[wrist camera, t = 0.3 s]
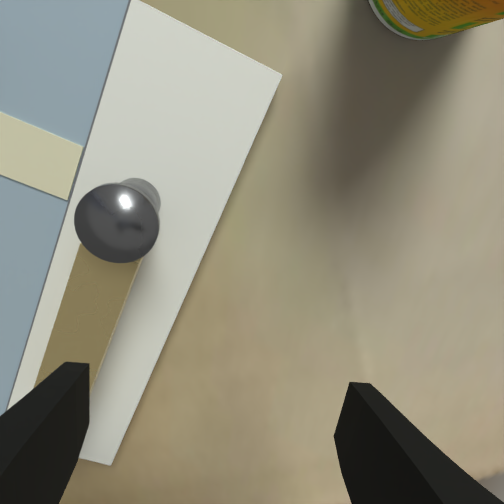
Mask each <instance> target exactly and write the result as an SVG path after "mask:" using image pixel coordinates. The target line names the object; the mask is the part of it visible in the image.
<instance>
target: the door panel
mask: <svg viewBox="0 0 504 504" xmlns="http://www.w3.org/2000/svg"><path fill="white" fill-rule="evenodd" d="M281 77H282V74H280V73H278V72H276V71H274V70H272V69H270V68H269V67H267V66H265V65H263V64H261V63H259V62H257V61H255V60H253V59H251V58H249V57H247V56H245V55H244V54H242V53H240V52H238V51H236V50H234V49H232V48H230V47H228V46H226V45H224V44H222V43H220V42H218V41H217V40H215V39H213V38H211V37H209V36H207V35H205V34H203V33H201V32H199V31H197V30H195V29H193V28H192V27H190V26H188V25H186V24H184V23H182V22H180V21H178V20H176V19H174V18H172V17H170V16H168V15H166V14H165V13H163V12H161V11H159V10H157V9H155V8H153V7H151V6H149V5H147V4H145V3H143V2H141V1H139V0H0V416H1V415H2V414H3V413H4V412H6V411H7V410H8V409H9V408H11V407H12V406H13V405H14V404H15V403H17V402H18V401H19V400H20V399H22V398H23V397H24V396H25V395H26V394H28V393H29V392H30V391H31V390H32V389H33V388H34V385H35V382H36V378H37V375H38V372H39V369H40V366H41V363H42V360H43V357H44V354H45V351H46V347H47V344H48V341H49V338H50V335H51V332H52V329H53V326H54V323H55V320H56V317H57V313H58V310H59V307H60V304H61V301H62V298H63V295H64V292H65V289H66V286H67V282H68V279H69V276H70V273H71V270H72V267H73V264H74V261H75V258H76V255H77V252H78V248H79V245H80V243H81V242H80V240H79V238H78V236H77V234H76V231H75V226H74V214H75V210H76V207H77V205H78V203H79V201H80V200H81V199H82V197H83V196H84V195H85V194H87V193H88V192H89V191H91V190H92V189H94V188H95V187H97V186H99V185H102V184H106V183H115V182H116V183H120V182H122V181H124V180H126V179H129V178H140V179H143V180H146V181H148V182H149V183H151V184H152V185H153V186H154V187H155V188H156V190H157V191H158V193H159V196H160V200H161V206H160V210H159V212H158V214H159V218H160V231H159V235H158V238H157V240H156V242H155V244H154V246H153V247H152V249H151V250H150V251H149V252H148V253H147V254H146V255H145V256H144V257H143V260H142V263H141V265H140V268H139V270H138V273H137V276H136V278H135V281H134V283H133V286H132V288H131V291H130V294H129V296H128V299H127V301H126V304H125V307H124V309H123V312H122V314H121V317H120V320H119V322H118V325H117V327H116V330H115V333H114V335H113V338H112V340H111V343H110V346H109V348H108V351H107V353H106V356H105V358H104V361H103V364H102V366H101V369H100V371H99V374H98V377H97V379H96V382H95V384H94V387H93V390H92V392H91V395H90V423H89V426H88V430H87V433H86V436H85V439H84V442H83V446H82V449H81V452H80V455H79V458H81V459H86V460H90V461H94V462H98V463H102V464H106V465H110V466H111V464H112V462H113V459H114V457H115V455H116V453H117V450H118V448H119V446H120V443H121V441H122V439H123V437H124V434H125V432H126V430H127V428H128V425H129V423H130V421H131V418H132V416H133V414H134V412H135V409H136V407H137V405H138V403H139V400H140V398H141V396H142V393H143V391H144V389H145V387H146V384H147V382H148V380H149V378H150V375H151V373H152V371H153V368H154V366H155V364H156V362H157V359H158V357H159V355H160V353H161V350H162V348H163V346H164V343H165V341H166V339H167V337H168V334H169V332H170V330H171V328H172V325H173V323H174V321H175V318H176V316H177V314H178V312H179V309H180V307H181V305H182V303H183V300H184V298H185V296H186V293H187V291H188V289H189V287H190V284H191V282H192V280H193V277H194V275H195V273H196V271H197V268H198V266H199V264H200V262H201V259H202V257H203V255H204V252H205V250H206V248H207V246H208V243H209V241H210V239H211V237H212V234H213V232H214V230H215V227H216V225H217V223H218V221H219V218H220V216H221V214H222V212H223V209H224V207H225V205H226V202H227V200H228V198H229V196H230V193H231V191H232V189H233V187H234V184H235V182H236V180H237V177H238V175H239V173H240V171H241V168H242V166H243V164H244V162H245V159H246V157H247V155H248V152H249V150H250V148H251V146H252V143H253V141H254V139H255V137H256V134H257V132H258V130H259V127H260V125H261V123H262V121H263V118H264V116H265V114H266V112H267V109H268V107H269V105H270V102H271V100H272V98H273V96H274V93H275V91H276V89H277V87H278V84H279V82H280V80H281Z"/></svg>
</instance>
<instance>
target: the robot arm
mask: <svg viewBox="0 0 504 504" xmlns="http://www.w3.org/2000/svg"><path fill="white" fill-rule="evenodd" d="M89 423H90V363H79V362H64V363H63V364H62V365H60V366H59V367H58V368H57V369H56V370H54V371H53V372H52V373H51V374H50V375H49V376H47V377H46V378H45V379H44V380H43V381H42V382H40V383H39V384H38V385H37V386H36V387H35V388H33V389H32V390H31V391H30V392H29V393H28V394H26V395H25V396H24V397H23V398H22V399H20V400H19V401H18V402H17V403H15V404H14V405H13V406H12V407H11V408H9V409H8V410H7V411H6V412H4V413H3V414H2V415H1V416H0V504H59V502H60V500H61V497H62V495H63V493H64V491H65V488H66V486H67V484H68V482H69V479H70V477H71V475H72V473H73V470H74V468H75V466H76V463H77V461H78V458H79V455H80V452H81V449H82V446H83V442H84V439H85V436H86V433H87V430H88V426H89ZM334 440H335V445H336V450H337V455H338V459H339V464H340V468H341V473H342V476H343V479H344V482H345V485H346V488H347V491H348V494H349V497H350V500H351V503H352V504H504V502H502V501H501V500H500V499H498V498H497V497H496V496H495V495H493V494H492V493H491V492H489V491H488V490H487V489H486V488H484V487H483V486H482V485H480V484H479V483H478V482H477V481H476V480H474V479H473V478H472V477H471V476H470V475H468V474H467V473H466V472H465V471H464V470H463V469H461V468H460V467H459V466H458V465H457V464H456V463H454V462H453V461H452V460H451V459H450V458H449V457H448V456H446V455H445V454H444V453H443V452H442V451H441V450H440V449H439V448H438V447H436V446H435V445H434V444H433V443H432V442H431V441H430V440H429V439H428V438H427V437H426V436H425V435H423V434H422V433H421V432H420V431H419V430H418V429H417V428H416V427H415V426H414V425H413V424H412V423H411V422H410V421H409V420H408V419H407V418H406V417H405V416H404V415H403V414H402V413H401V412H400V411H399V410H398V409H396V408H395V407H394V406H393V405H392V404H391V403H390V402H389V401H388V400H387V399H386V398H385V397H384V396H383V395H382V394H381V393H380V392H379V391H378V390H377V389H376V388H375V387H373V386H372V385H371V384H370V383H358V382H350V383H349V386H348V390H347V393H346V396H345V400H344V403H343V407H342V410H341V413H340V417H339V420H338V424H337V427H336V430H335V434H334Z"/></svg>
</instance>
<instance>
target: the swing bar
mask: <svg viewBox="0 0 504 504" xmlns="http://www.w3.org/2000/svg"><path fill="white" fill-rule="evenodd" d="M143 257H144V256H143ZM143 257H142V258H140V259H138V260H136V261H133V262H129V263H112V262H108V261H104V260H102V259H100V258H98V257H96V256H94V255H93V254H92V253H90V252H89V251H88V250H87V249H86V248H85V247H84V246H83V245H82V243H80V245H79V248H78V252H77V255H76V258H75V261H74V264H73V267H72V270H71V273H70V276H69V279H68V282H67V286H66V289H65V292H64V295H63V298H62V301H61V304H60V307H59V310H58V313H57V317H56V320H55V323H54V326H53V329H52V332H51V335H50V338H49V341H48V344H47V347H46V351H45V354H44V357H43V360H42V363H41V366H40V369H39V372H38V375H37V378H36V382H35V385H34V388H35V387H36V386H37V385H38V384H39V383H40V382H42V381H43V380H44V379H45V378H46V377H47V376H49V375H50V374H51V373H52V372H53V371H54V370H56V369H57V368H58V367H59V366H60V365H62V364H63V363H64V362H79V363H90V395H91V392H92V390H93V387H94V384H95V382H96V379H97V377H98V374H99V371H100V369H101V366H102V364H103V361H104V358H105V356H106V353H107V351H108V348H109V346H110V343H111V340H112V338H113V335H114V333H115V330H116V327H117V325H118V322H119V320H120V317H121V314H122V312H123V309H124V307H125V304H126V301H127V299H128V296H129V294H130V291H131V288H132V286H133V283H134V281H135V278H136V276H137V273H138V270H139V268H140V265H141V263H142V260H143Z"/></svg>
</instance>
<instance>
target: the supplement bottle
mask: <svg viewBox="0 0 504 504" xmlns="http://www.w3.org/2000/svg"><path fill="white" fill-rule="evenodd" d="M368 1H369V3H370V5H371V8H372V9H373V11H374V13H375V14H376V16H377V17H378V19H379V20H380V21H381V22H382V23H383V24H384V25H385V26H386V27H387V28H388V29H390V30H391V31H393V32H394V33H396V34H398V35H400V36H402V37H405V38H409V39H414V40H429V39H435V38H440V37H444V36H447V35H450V34H454V33H457V32H460V31H464V30H467V29H470V28H473V27H477V26H480V25H483V24H487V23H490V22H493V21H497V20H500V19H503V18H504V0H368Z"/></svg>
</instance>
